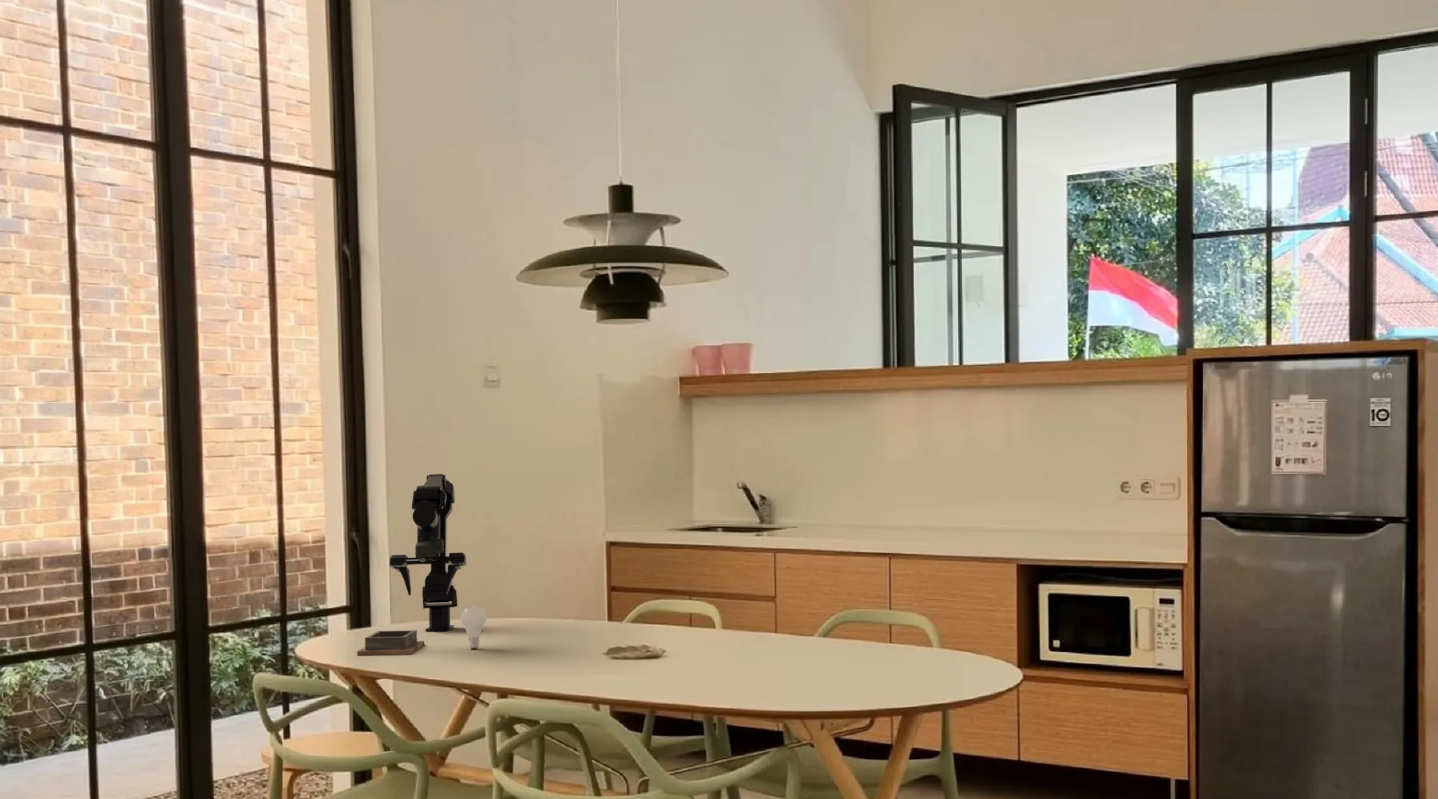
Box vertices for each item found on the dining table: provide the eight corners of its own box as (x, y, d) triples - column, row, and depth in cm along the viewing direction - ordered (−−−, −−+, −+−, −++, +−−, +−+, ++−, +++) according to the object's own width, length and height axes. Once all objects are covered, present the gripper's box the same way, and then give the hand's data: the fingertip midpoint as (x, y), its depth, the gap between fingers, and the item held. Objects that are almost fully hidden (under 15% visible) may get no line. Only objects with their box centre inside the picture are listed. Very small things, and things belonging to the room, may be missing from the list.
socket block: (374, 645, 307) (374, 630, 307) (424, 644, 306) (424, 629, 307) (357, 655, 294) (357, 639, 294) (409, 654, 294) (409, 638, 294)
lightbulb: (483, 651, 296) (483, 606, 296) (458, 651, 296) (457, 607, 297) (489, 646, 303) (488, 602, 303) (464, 646, 303) (463, 603, 303)
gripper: (387, 529, 298) (385, 592, 294) (462, 527, 301) (462, 589, 297) (393, 536, 309) (392, 597, 305) (466, 534, 312) (466, 594, 307)
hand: (428, 594), depth 303 cm, fingers open, 9 cm apart
